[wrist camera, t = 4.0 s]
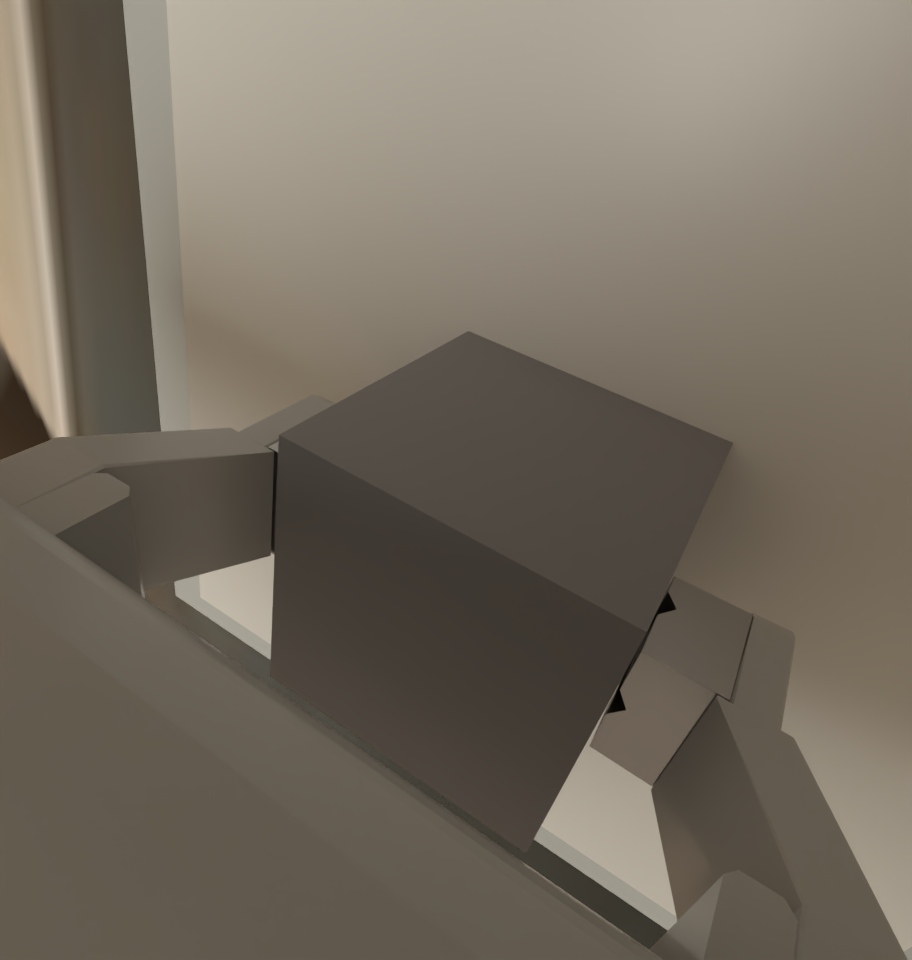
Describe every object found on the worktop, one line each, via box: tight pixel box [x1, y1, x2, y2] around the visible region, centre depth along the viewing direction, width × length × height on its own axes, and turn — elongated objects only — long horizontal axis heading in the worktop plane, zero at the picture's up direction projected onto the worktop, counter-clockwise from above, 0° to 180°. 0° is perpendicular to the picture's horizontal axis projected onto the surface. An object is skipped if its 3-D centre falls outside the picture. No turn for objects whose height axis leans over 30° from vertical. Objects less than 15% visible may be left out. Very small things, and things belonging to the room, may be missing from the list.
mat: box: [123, 0, 912, 960], centre depth 11 cm, size 20×20×1 cm
